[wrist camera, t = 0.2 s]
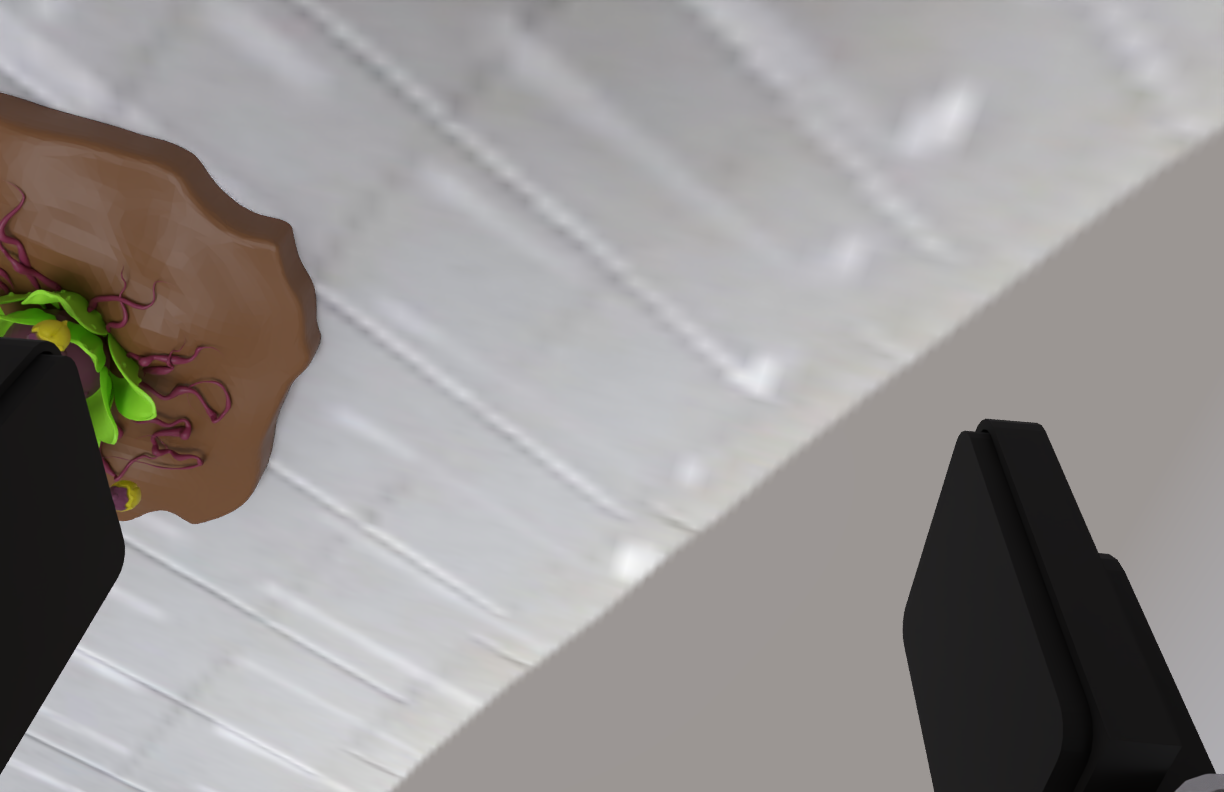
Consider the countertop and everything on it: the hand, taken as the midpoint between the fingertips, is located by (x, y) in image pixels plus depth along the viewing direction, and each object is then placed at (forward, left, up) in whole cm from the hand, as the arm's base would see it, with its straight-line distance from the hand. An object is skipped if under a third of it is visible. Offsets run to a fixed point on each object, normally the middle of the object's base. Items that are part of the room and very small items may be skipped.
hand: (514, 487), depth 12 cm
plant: (+19, -23, -32) cm, 44 cm away
